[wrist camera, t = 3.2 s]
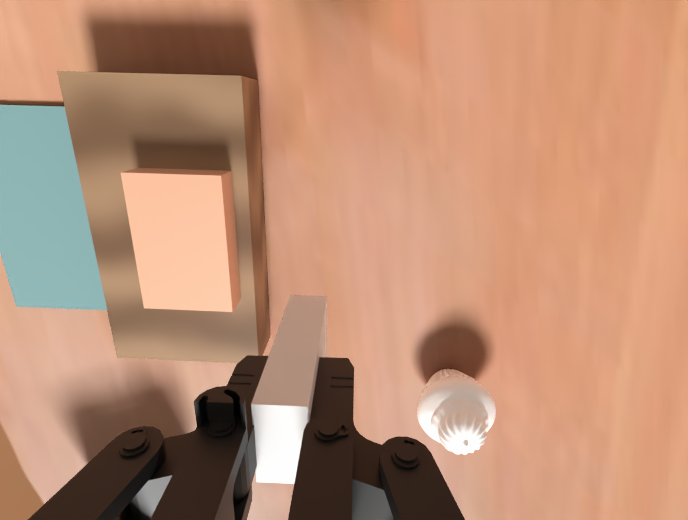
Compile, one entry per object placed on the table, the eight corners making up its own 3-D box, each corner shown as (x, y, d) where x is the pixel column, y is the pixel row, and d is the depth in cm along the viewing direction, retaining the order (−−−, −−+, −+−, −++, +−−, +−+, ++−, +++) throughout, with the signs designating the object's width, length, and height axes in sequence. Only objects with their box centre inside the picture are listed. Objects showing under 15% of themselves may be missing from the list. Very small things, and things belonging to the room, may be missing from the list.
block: (138, 167, 25) (120, 172, 24) (231, 170, 25) (220, 175, 23) (158, 295, 29) (143, 308, 27) (241, 298, 28) (232, 312, 27)
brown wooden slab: (98, 76, 27) (57, 71, 24) (258, 80, 27) (241, 75, 23) (143, 330, 34) (117, 357, 31) (270, 336, 34) (258, 364, 30)
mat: (-41, 103, 28) (-45, 103, 28) (111, 107, 28) (108, 107, 28) (19, 304, 34) (16, 306, 34) (145, 310, 34) (144, 311, 33)
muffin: (474, 414, 36) (499, 482, 30) (407, 408, 36) (417, 474, 30) (489, 356, 34) (520, 416, 27) (417, 350, 34) (430, 407, 27)
